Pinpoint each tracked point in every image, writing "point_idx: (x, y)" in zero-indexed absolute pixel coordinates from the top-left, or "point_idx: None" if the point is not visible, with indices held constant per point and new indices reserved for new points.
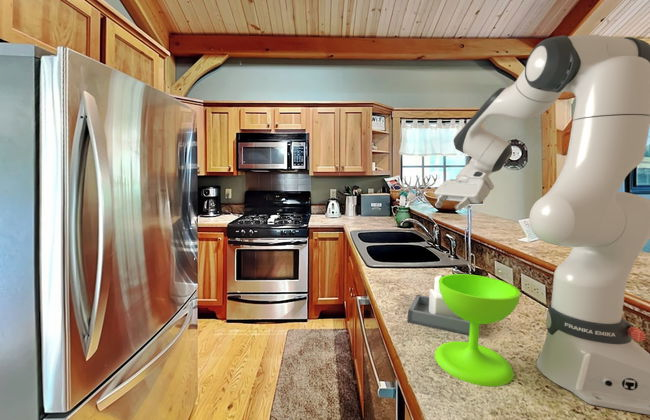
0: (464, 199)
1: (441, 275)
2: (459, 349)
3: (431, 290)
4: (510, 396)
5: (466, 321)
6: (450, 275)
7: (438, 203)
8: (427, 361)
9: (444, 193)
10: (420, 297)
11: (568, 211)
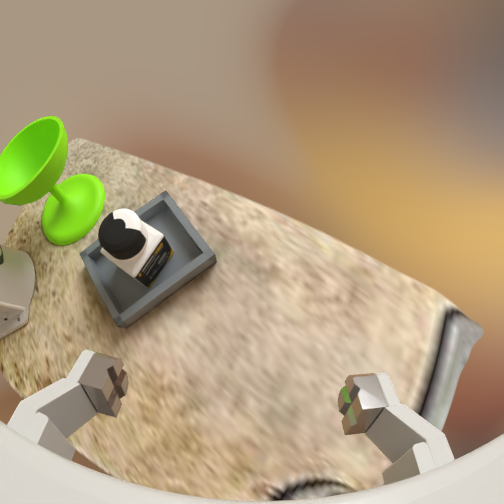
0: (30, 409)
1: (130, 229)
2: (81, 202)
3: (154, 230)
4: (39, 200)
5: (92, 245)
6: (55, 145)
7: (358, 388)
8: (100, 168)
9: (399, 491)
10: (202, 254)
11: None
